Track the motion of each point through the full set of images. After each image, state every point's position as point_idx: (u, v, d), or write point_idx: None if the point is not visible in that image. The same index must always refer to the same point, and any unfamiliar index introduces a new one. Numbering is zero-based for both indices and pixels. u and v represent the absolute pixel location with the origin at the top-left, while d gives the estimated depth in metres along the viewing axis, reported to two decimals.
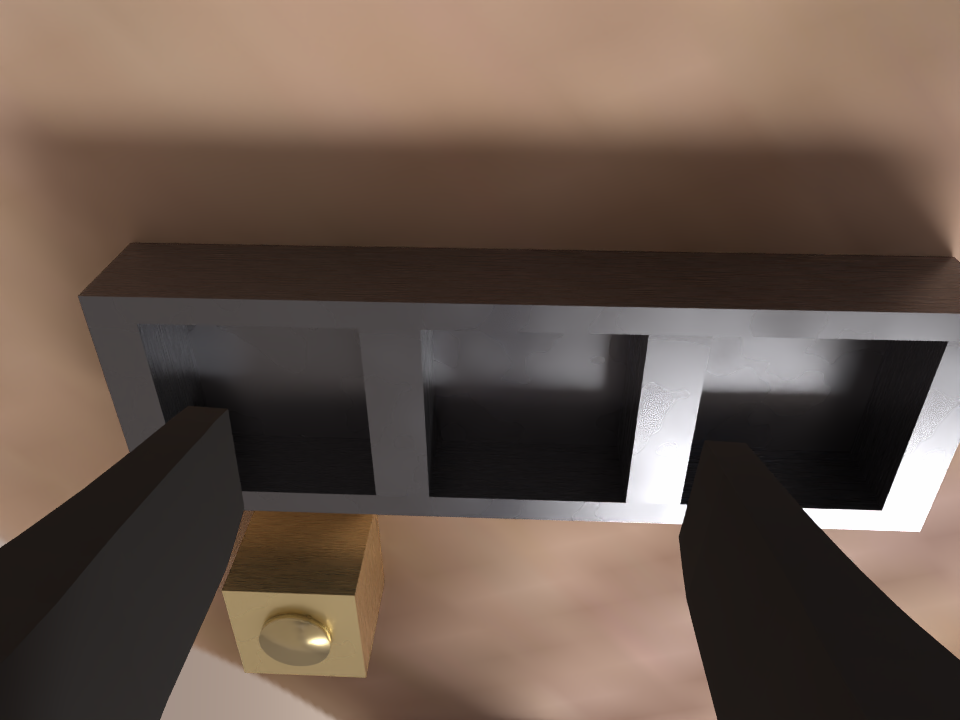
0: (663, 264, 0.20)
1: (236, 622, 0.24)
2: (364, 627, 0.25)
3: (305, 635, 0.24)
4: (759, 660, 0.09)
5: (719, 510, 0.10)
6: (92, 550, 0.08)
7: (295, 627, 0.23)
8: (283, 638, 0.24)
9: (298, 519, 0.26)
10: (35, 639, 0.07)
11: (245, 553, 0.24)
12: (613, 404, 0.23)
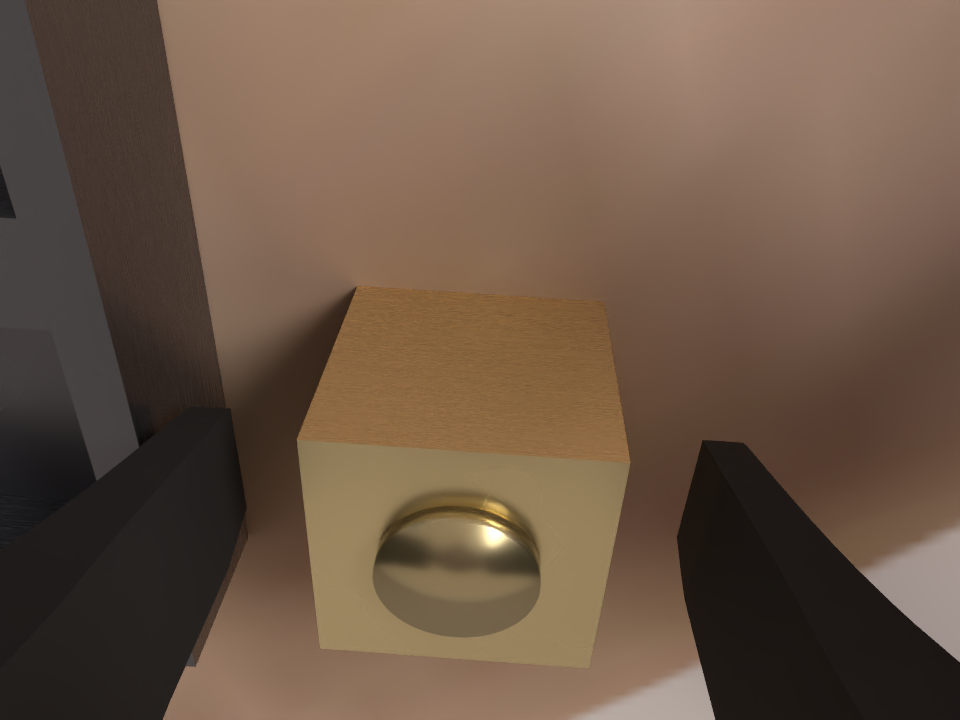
0: None
1: (419, 649, 0.11)
2: (483, 422, 0.10)
3: (421, 560, 0.10)
4: (757, 660, 0.09)
5: (717, 510, 0.10)
6: (95, 550, 0.08)
7: (394, 571, 0.10)
8: (435, 597, 0.10)
9: None
10: (39, 639, 0.07)
11: None
12: None
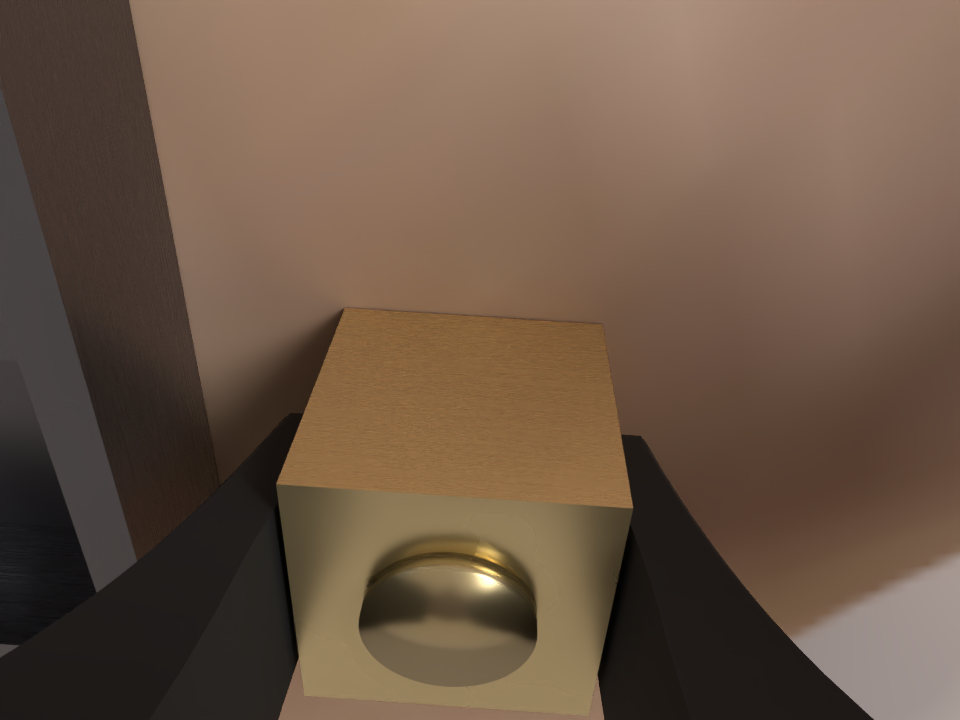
0: None
1: (408, 695, 0.11)
2: (476, 463, 0.09)
3: (410, 609, 0.09)
4: (628, 651, 0.09)
5: None
6: (234, 560, 0.08)
7: (381, 620, 0.09)
8: (426, 647, 0.10)
9: None
10: (199, 651, 0.07)
11: None
12: None
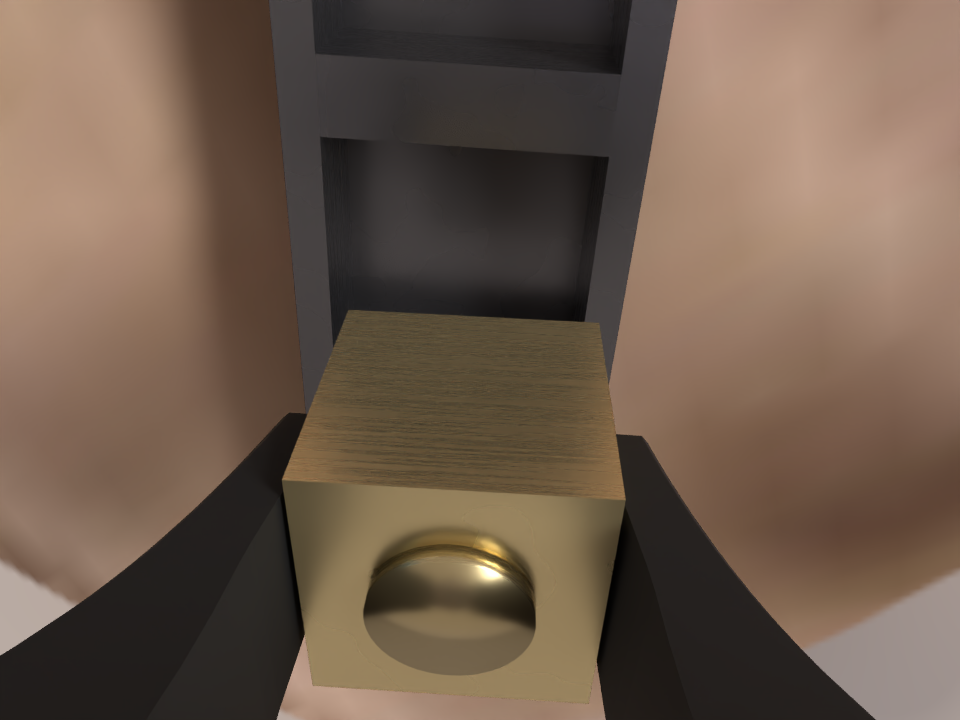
0: None
1: (413, 685, 0.11)
2: (474, 458, 0.09)
3: (413, 599, 0.10)
4: (630, 651, 0.09)
5: None
6: (232, 560, 0.08)
7: (385, 611, 0.10)
8: (428, 636, 0.10)
9: None
10: (197, 650, 0.07)
11: None
12: None
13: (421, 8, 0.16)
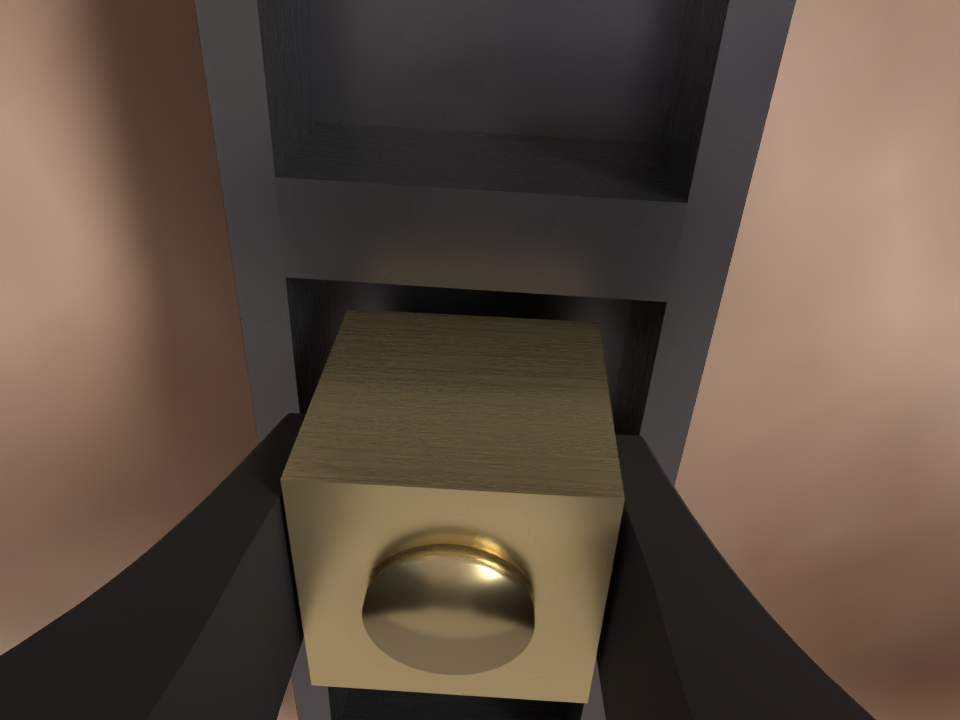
0: None
1: (412, 685, 0.11)
2: (472, 457, 0.09)
3: (411, 599, 0.10)
4: (630, 651, 0.09)
5: None
6: (232, 559, 0.08)
7: (384, 610, 0.10)
8: (427, 636, 0.10)
9: None
10: (197, 650, 0.07)
11: None
12: None
13: (418, 99, 0.12)
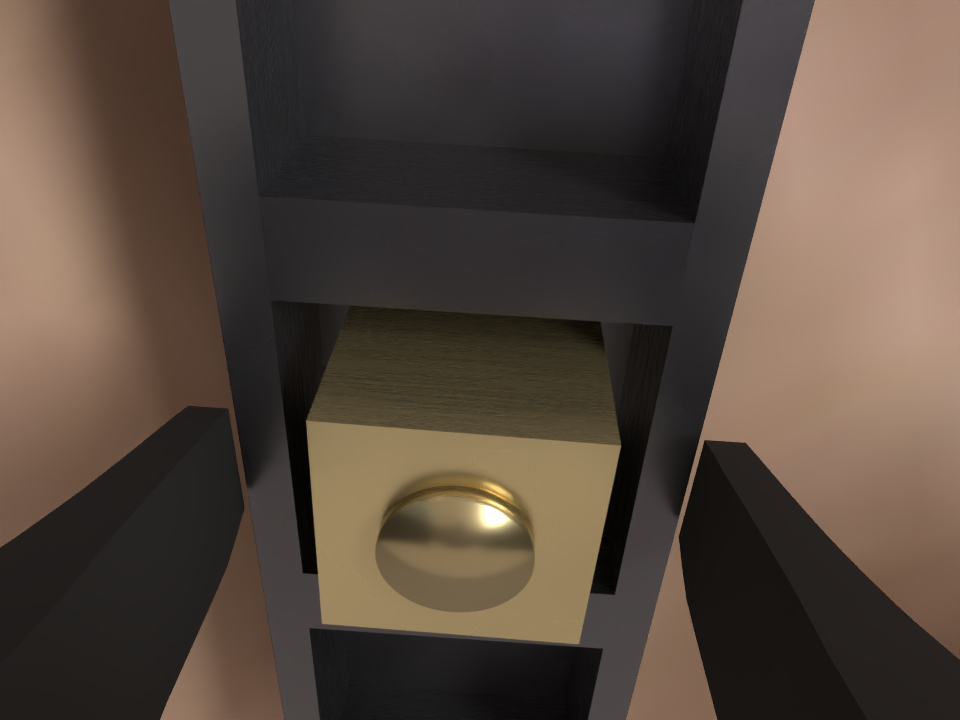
0: None
1: (417, 624, 0.12)
2: (482, 406, 0.10)
3: (422, 536, 0.10)
4: (759, 660, 0.09)
5: (719, 510, 0.10)
6: (92, 550, 0.08)
7: (396, 548, 0.11)
8: (434, 573, 0.11)
9: None
10: (35, 639, 0.07)
11: None
12: None
13: (411, 111, 0.12)
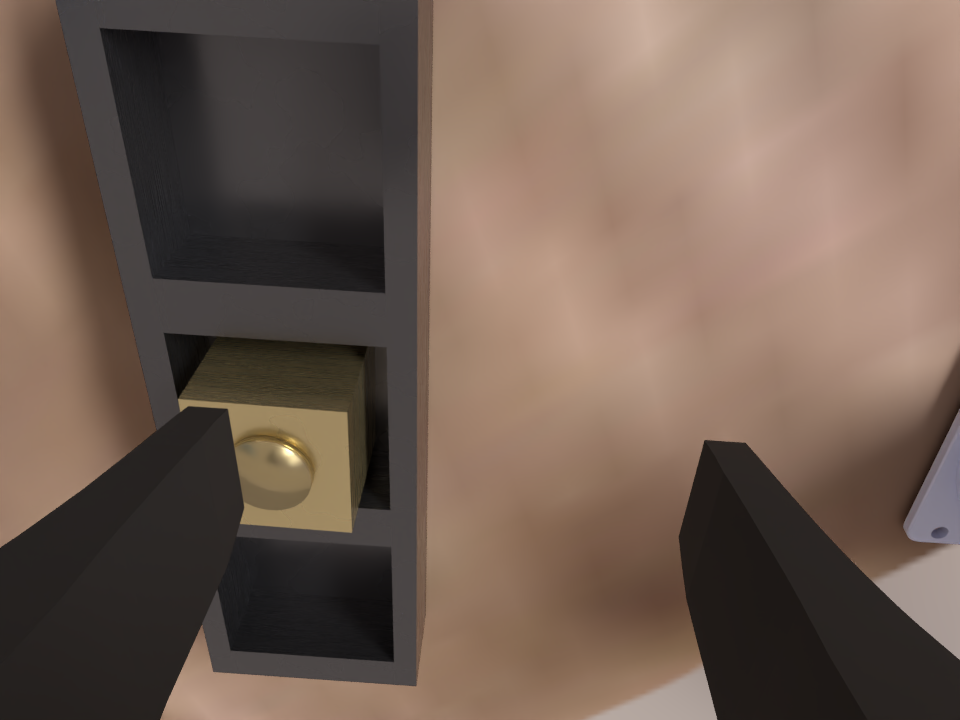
0: None
1: (256, 520, 0.20)
2: (278, 391, 0.19)
3: (246, 464, 0.19)
4: (759, 660, 0.09)
5: (719, 510, 0.10)
6: (92, 550, 0.08)
7: None
8: (257, 486, 0.19)
9: None
10: (35, 639, 0.07)
11: None
12: None
13: (250, 221, 0.20)
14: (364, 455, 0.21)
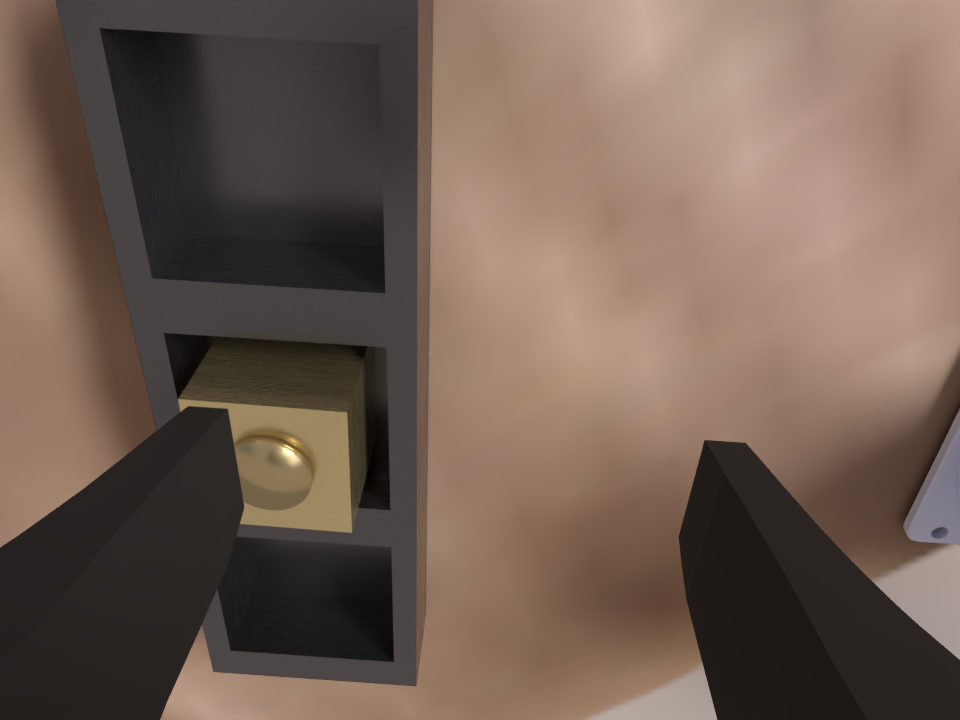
0: None
1: (256, 520, 0.20)
2: (278, 391, 0.19)
3: (246, 464, 0.19)
4: (759, 660, 0.09)
5: (719, 510, 0.10)
6: (92, 550, 0.08)
7: None
8: (257, 486, 0.19)
9: None
10: (35, 639, 0.07)
11: None
12: None
13: (250, 221, 0.20)
14: (364, 455, 0.21)
